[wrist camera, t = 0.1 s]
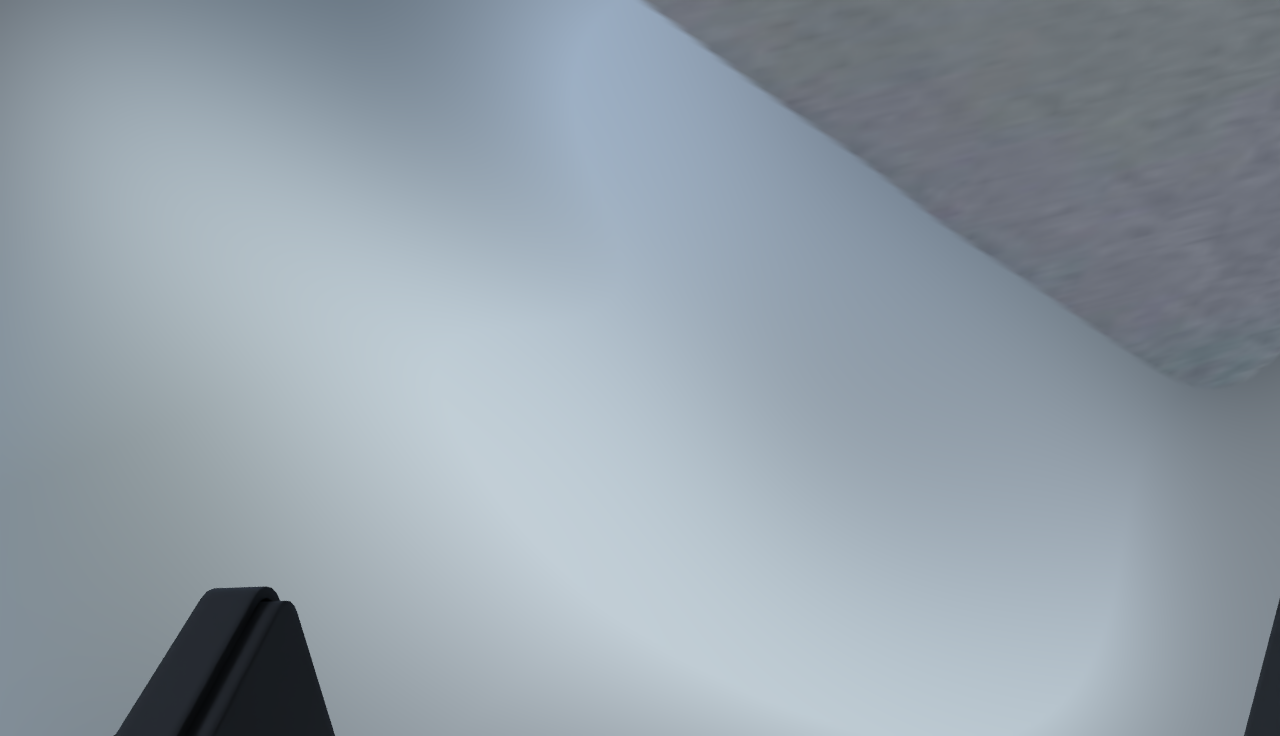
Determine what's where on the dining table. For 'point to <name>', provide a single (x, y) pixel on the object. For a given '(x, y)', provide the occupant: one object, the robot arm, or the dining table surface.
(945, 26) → the dining table surface
